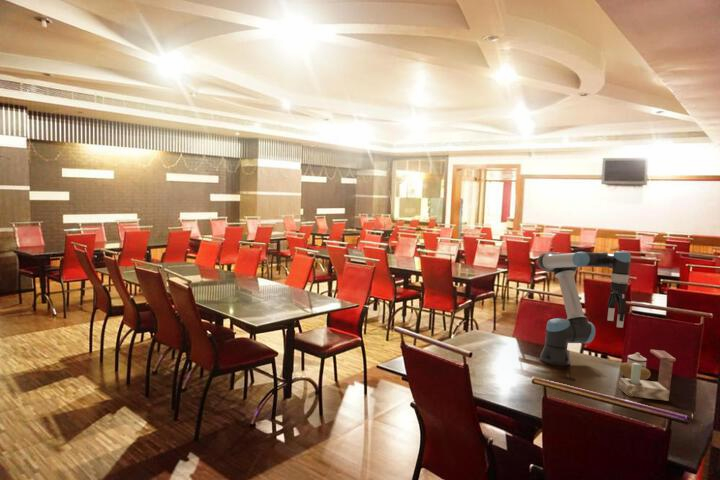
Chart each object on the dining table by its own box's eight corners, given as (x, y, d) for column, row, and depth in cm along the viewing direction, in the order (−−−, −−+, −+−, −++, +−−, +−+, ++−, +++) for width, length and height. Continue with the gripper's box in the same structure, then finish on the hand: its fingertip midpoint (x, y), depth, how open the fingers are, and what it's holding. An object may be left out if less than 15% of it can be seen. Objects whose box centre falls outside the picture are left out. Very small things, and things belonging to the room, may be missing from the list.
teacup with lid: (642, 379, 246) (645, 357, 245) (623, 373, 252) (625, 352, 251) (649, 373, 254) (651, 352, 253) (630, 368, 260) (632, 348, 259)
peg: (630, 393, 224) (634, 365, 223) (627, 390, 228) (631, 362, 227) (639, 394, 224) (642, 366, 222) (636, 391, 227) (639, 363, 226)
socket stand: (626, 396, 221) (631, 354, 219) (617, 386, 232) (622, 346, 231) (670, 401, 217) (675, 358, 216) (659, 391, 229) (664, 350, 227)
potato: (647, 386, 235) (649, 371, 234) (616, 378, 244) (618, 363, 243) (651, 381, 242) (653, 366, 241) (621, 373, 251) (622, 359, 251)
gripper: (637, 287, 225) (632, 331, 227) (618, 279, 250) (614, 318, 251) (620, 285, 226) (615, 329, 228) (603, 277, 251) (599, 317, 253)
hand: (614, 323), depth 240 cm, fingers open, 13 cm apart
